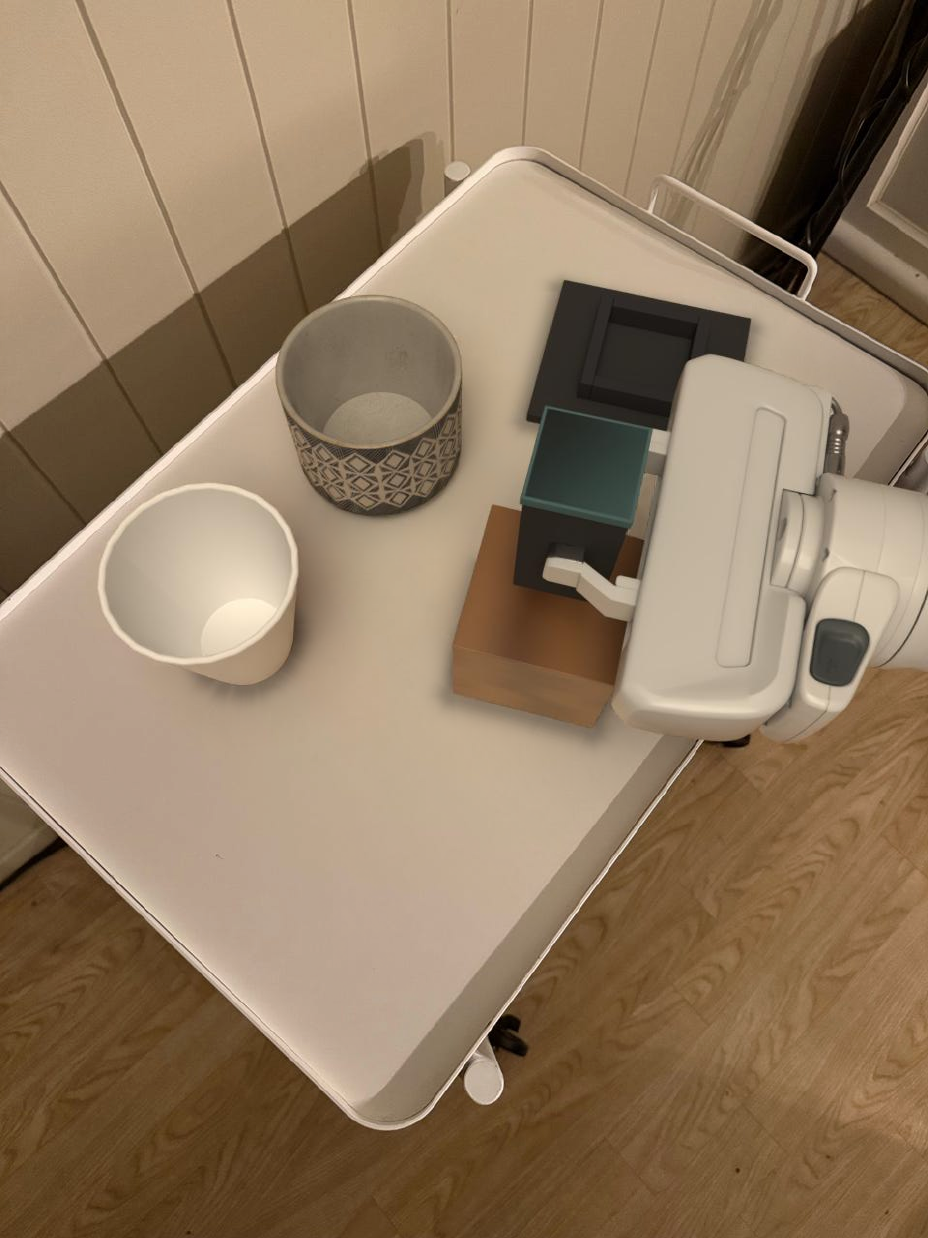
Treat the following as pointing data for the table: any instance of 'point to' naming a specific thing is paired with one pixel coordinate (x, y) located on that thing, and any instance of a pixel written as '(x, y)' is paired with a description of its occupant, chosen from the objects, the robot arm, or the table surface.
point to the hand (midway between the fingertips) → (559, 505)
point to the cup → (204, 582)
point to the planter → (373, 402)
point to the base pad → (626, 353)
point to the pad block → (579, 493)
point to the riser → (535, 635)
